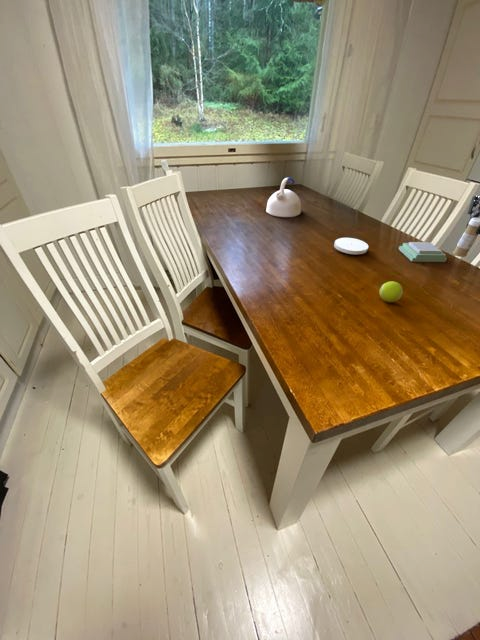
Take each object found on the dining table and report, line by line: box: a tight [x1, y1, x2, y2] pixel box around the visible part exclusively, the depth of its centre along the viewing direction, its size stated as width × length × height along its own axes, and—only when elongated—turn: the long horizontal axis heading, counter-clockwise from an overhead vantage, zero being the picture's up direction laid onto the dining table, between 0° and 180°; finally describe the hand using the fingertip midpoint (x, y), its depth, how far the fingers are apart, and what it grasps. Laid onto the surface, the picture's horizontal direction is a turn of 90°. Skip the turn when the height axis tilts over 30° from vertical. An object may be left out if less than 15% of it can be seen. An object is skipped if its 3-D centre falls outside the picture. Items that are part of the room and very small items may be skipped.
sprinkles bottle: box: [452, 217, 480, 258], centre depth 99 cm, size 5×5×13 cm
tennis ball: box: [378, 280, 404, 303], centre depth 88 cm, size 7×7×7 cm
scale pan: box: [408, 241, 443, 254], centre depth 114 cm, size 9×9×2 cm
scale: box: [398, 242, 448, 263], centre depth 115 cm, size 14×12×3 cm
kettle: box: [265, 176, 302, 218], centre depth 153 cm, size 20×21×18 cm
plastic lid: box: [333, 237, 369, 255], centre depth 119 cm, size 14×14×2 cm
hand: (473, 230), depth 97 cm, fingers closed on sprinkles bottle, 4 cm apart
